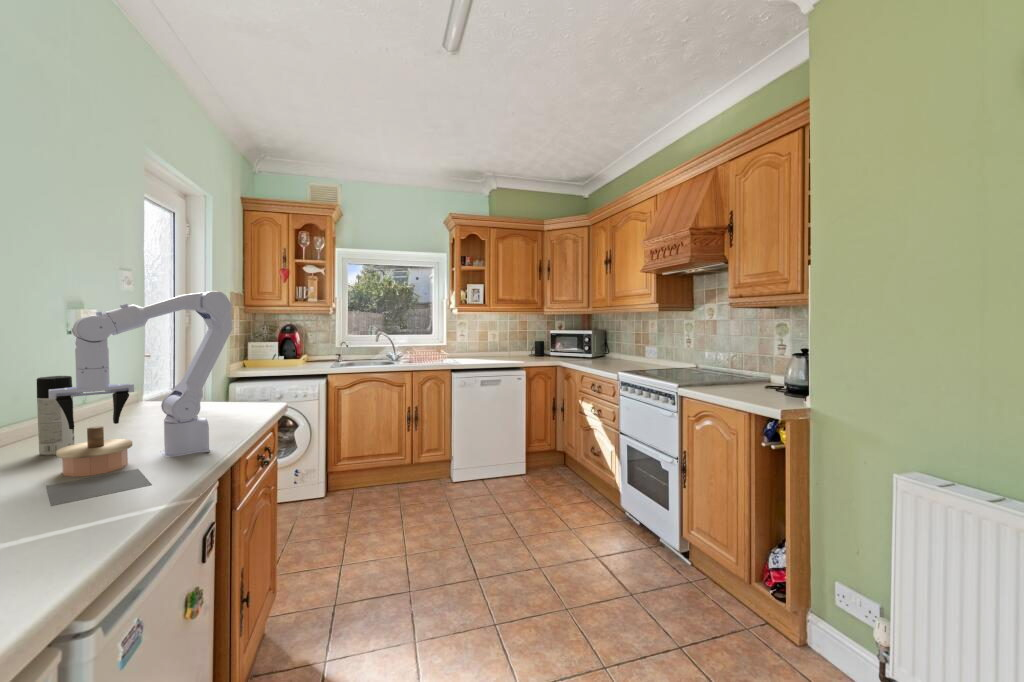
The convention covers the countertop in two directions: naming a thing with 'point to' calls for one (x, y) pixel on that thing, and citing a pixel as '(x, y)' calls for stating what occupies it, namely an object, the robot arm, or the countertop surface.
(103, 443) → the lid
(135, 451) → the countertop surface
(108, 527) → the countertop surface
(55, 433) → the spray can
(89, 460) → the bowl
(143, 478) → the mat
